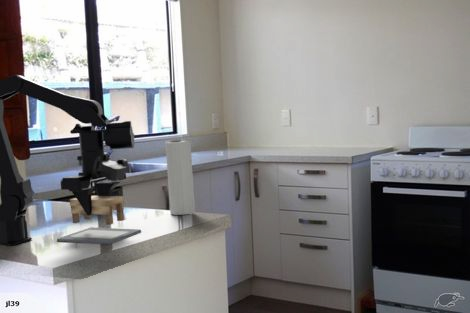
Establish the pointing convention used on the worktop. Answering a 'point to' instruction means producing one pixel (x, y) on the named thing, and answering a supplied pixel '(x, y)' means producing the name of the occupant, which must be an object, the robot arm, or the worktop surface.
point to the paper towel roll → (180, 177)
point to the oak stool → (99, 208)
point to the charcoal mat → (99, 235)
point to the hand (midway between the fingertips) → (97, 212)
